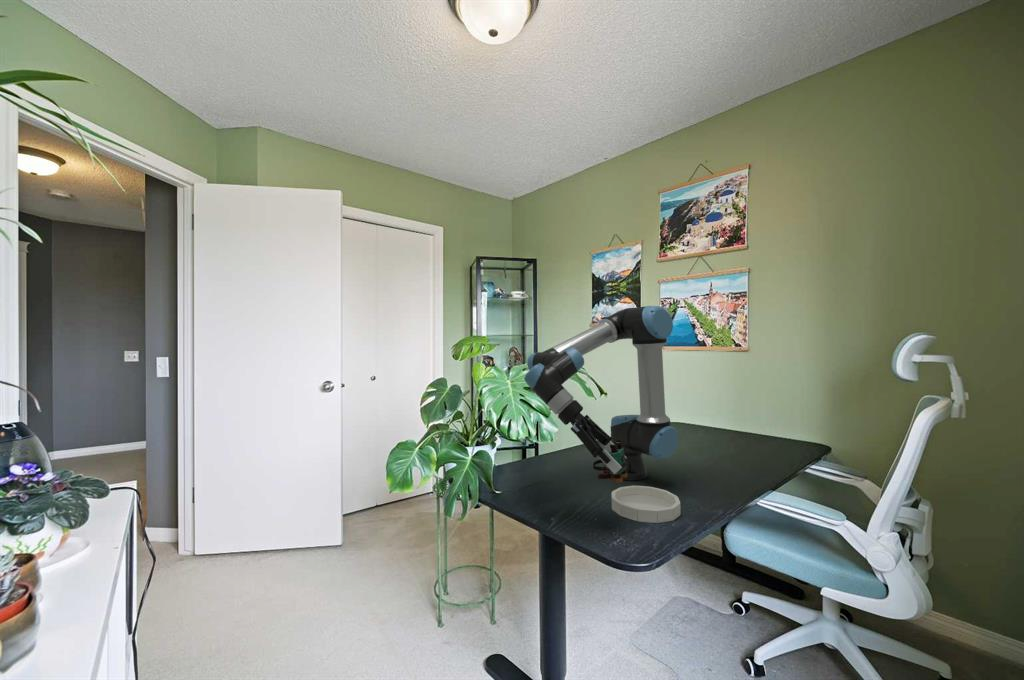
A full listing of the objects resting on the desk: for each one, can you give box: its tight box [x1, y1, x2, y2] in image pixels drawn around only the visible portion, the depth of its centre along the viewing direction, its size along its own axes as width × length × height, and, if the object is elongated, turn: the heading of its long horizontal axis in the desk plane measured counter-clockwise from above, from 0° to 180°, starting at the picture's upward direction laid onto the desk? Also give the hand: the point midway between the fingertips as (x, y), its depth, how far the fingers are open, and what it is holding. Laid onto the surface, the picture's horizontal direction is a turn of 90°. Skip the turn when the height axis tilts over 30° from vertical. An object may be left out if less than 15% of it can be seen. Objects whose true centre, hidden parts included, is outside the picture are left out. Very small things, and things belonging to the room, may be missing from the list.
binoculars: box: [592, 440, 627, 484], centre depth 121 cm, size 9×10×10 cm
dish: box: [611, 485, 682, 524], centre depth 131 cm, size 20×20×4 cm
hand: (620, 465), depth 120 cm, fingers closed on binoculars, 9 cm apart
